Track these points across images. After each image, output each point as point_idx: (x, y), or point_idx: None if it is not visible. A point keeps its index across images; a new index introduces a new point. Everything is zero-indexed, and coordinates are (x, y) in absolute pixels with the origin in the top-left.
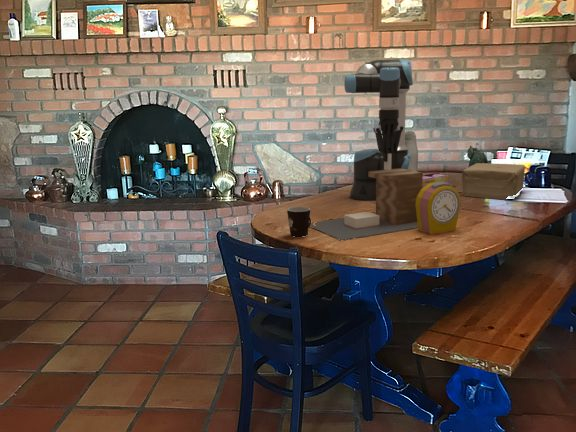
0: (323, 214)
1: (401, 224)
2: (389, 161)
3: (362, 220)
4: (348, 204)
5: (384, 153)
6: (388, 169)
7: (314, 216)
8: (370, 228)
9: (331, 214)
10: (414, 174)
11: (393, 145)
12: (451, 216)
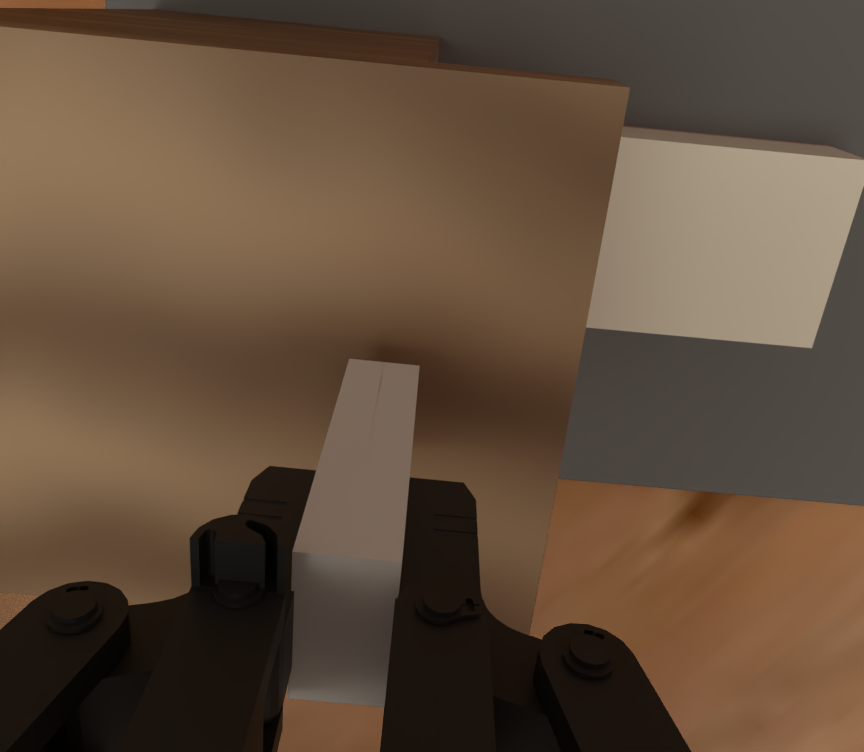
0: (625, 641)
1: (392, 24)
2: (381, 444)
3: (785, 148)
4: (287, 747)
5: (492, 624)
6: (411, 371)
7: (714, 633)
8: (716, 84)
9: (582, 614)
10: (20, 28)
11: (140, 749)
12: None
